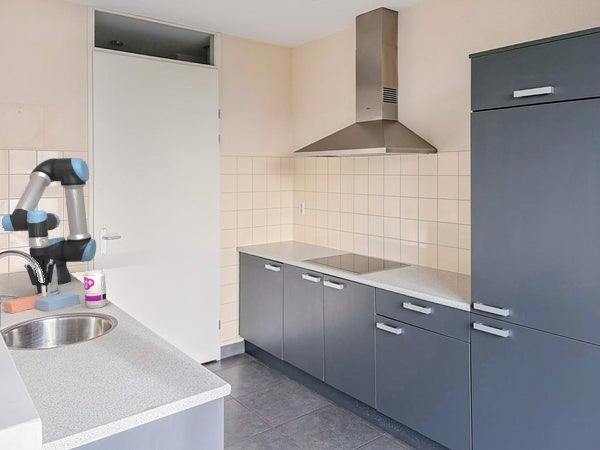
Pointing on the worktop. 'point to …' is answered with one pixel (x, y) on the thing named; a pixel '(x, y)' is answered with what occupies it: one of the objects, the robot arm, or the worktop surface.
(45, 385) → the worktop surface
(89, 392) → the worktop surface
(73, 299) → the blue rectangular block
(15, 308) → the orange rectangular block
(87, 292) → the supplement can
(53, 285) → the supplement tub
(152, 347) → the worktop surface
